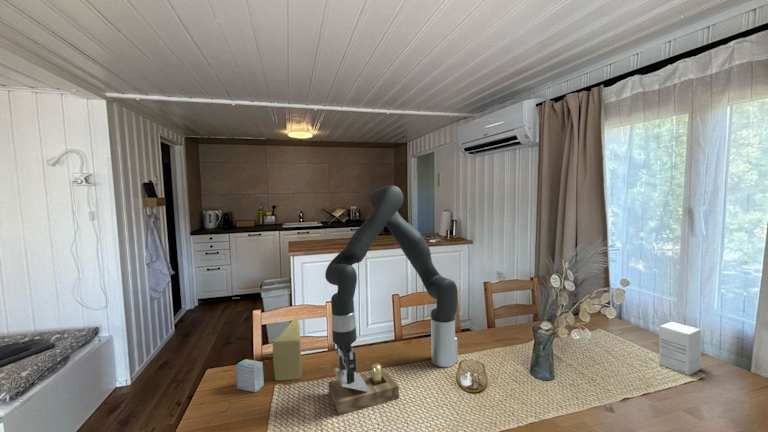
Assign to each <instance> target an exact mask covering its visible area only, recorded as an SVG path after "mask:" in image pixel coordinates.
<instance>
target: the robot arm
mask: <svg viewBox="0 0 768 432" xmlns="http://www.w3.org/2000/svg"><path fill="white" fill-rule="evenodd" d="M369 201H370V202H369V203H370V205H371V208H372V209H373V212H372V214H371V215H370V216H369V217H368V218H367V219H366V220H365V221H364V222H363V223H362V224H361V225H360V226H359V227H358V228H356V229H357V230H355V231H354V233H353V234H352V236H351V237H350V239H349V240H348V242H347V243H346V244H345V247H344V249H342V250H340V252H339V253H338V254H337V255H336V256H335V257H334V258H333V259H332V260H331V261H330V263H329V264H328V265H327V267H326V270H325V279H326V281H327V283H329V284H330V285H333V286H337V292H336V293H334V294H332V296H331V300H330V304H331V307H330V308H331V332H332V342H333V344H335V345H336V354H337V357H338V359H339V360H338V361H339V369H340V370H346V374H347V383H348V384H350V383H353V382H354V372H357V370H358V369H357V360H356V351H355V350H354V348H353V346H352V344H353V343H355V342H356V341H357V323H356V321H357V320H356V314H355V303H354V302H355V301H354V300H355V299H354V297H355V293H356V289H357V288H356V286H357V284H358V283H357V281H358V274H357V271H356V269H355V268H354V266H353V265H355V264H358V263H361V262H362V261H363V260H364V258H365V256H366V255H367V253H368V252H369V250H370V248H371V247H372V245H373V244H374V242H375V240H376V239H377V237H378V236H379V234H380V233H381V231H383V229H384V228H385V226H386V227H387V229H388V230H389V231H390V233H391V235H392V236H393V238H394V239H395V240H396V242H397V244H398V245H399V247H400V249H401V251H402V252H403V254H404V255H405V256H406V258H407V260H408V261H409V262H410V264H411V265H412V267H413V269H414V270H415V271H416V272H417V274H418V276H419V278H420V280H421V282H422V284H423V286H424V288H425V290H426V292H427V294H428V295H429V297H430V298H432V299H433V300H436V307H435V308H433V309H432V310H431V312H430V326H431V327H430V335H431V337H430V339H431V341H430V342H431V343H430V344H431V346H430V347H431V350H430V351H431V363H432V364H433V365H435V366H436V367H441V368H449V367H453V366H454V365H456V364H457V363H458V361H459V359H458V358H459V357H458V355H459V353H458V338H457V337H456V314H457V311H458V286H457V284H456V282H455V281H453V280H452V279H450V278H447V277H444V276H443V275H441V274H440V273H439V271H438V269H437V268H436V267H435V266H434V263H433V260H432V253H431V250H430V246H429V245H428V243H427V242H426V239H425V238H424V236H423V234H422V233H421V232H420V231H419V230H418V229H417V228H416V227H414V226H413V225H412V224H410V223H409V222H407V220H405V219H404V218H403V217H402V215H401V214H400V212H399V210H400V208H401V207H402V205H403V202H404V194H403V192H402V190H401V188H399V187H398V186H396V185H392V184H390V185H387V186H386V185H385V186H383V187H380V188H377V189H374V190H373V191H371V194H370V198H369Z"/></svg>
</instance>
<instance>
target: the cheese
mask: <svg viewBox="0 0 768 432" xmlns="http://www.w3.org/2000/svg"><path fill="white" fill-rule="evenodd" d="M301 345H302V344H301V327H300V322H299V319H292V320H291V321H290V322H289V324H288V325H287V326H286V328H285V329H284V330H283V331H282V332H281V333H280V334H279V335H278V336H277V337H276V338H275V339H274V340H273V342H272V359H273V361H272V362H273V374H274V380H275V381H283V382H284V381H292V380H300V379H301V378H302V375H303V373H302V371H303V370H302V352H301V351H302V346H301Z"/></svg>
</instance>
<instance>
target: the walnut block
mask: <svg viewBox="0 0 768 432" xmlns="http://www.w3.org/2000/svg"><path fill="white" fill-rule="evenodd" d="M359 374H360V376H361V377H362V379H363V380H364V382H365V384H366V385H367V387H368V388H369V389H368V392H366V391H361V390H357V389H352V388H347V387H342V386H341V384H340V382H339V380H338V379H335V380H331V381H328V395H329V398H330V400H331V402H332V404H333V407H334V410H335V412H336V414H337V416H342V415H345V414H346V415H347V414H349V413H352V412H356V411H360V410H363V409H365V408H366V409H367V408H370V407H374V406H376V405H380V404H384V403H388V402H390V401H394V400H398V399H400V387H399V384H397V382H396V381H395V379H393V377H392V376H391V374H389V372H388V371H387V370H386V368H381V378H382V384H379V385H376V386H373V380H372V371H369V372H364V373H359Z"/></svg>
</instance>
